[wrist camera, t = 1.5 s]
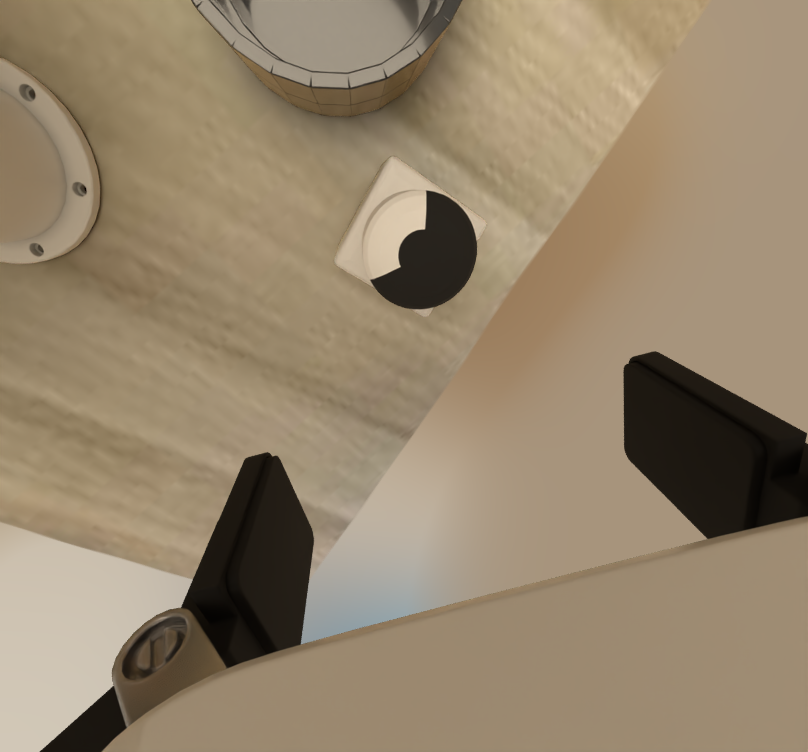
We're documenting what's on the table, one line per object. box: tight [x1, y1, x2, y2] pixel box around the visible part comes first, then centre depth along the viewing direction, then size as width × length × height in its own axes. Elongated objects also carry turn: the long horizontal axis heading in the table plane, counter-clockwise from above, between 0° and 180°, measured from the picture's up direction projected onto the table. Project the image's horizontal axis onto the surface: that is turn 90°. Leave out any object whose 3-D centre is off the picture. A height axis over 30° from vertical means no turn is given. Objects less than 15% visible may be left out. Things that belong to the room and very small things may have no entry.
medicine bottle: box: [334, 156, 487, 317], centre depth 26 cm, size 7×7×12 cm
